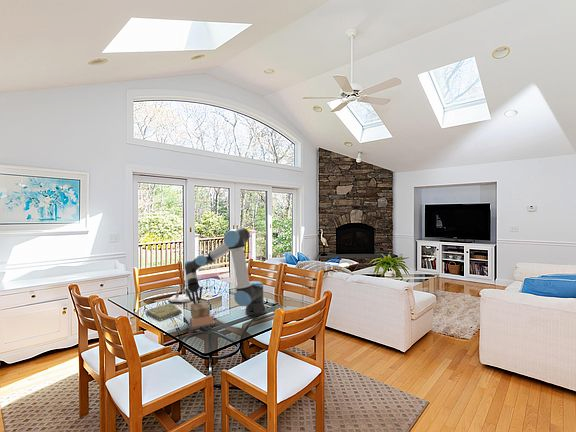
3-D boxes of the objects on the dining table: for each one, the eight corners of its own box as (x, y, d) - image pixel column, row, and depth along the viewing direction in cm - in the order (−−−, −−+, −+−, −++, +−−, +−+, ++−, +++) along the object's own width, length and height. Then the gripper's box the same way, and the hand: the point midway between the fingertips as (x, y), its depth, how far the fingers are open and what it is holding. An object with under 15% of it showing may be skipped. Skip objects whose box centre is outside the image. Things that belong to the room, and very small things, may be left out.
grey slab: (206, 313, 230) (206, 305, 229) (215, 324, 211) (214, 315, 210) (184, 317, 222) (184, 308, 222) (190, 329, 203) (190, 320, 202)
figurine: (169, 304, 246) (171, 283, 246) (167, 297, 263) (169, 278, 262) (195, 302, 255) (197, 283, 254) (192, 296, 271) (193, 277, 271)
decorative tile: (160, 321, 217) (160, 316, 217) (146, 313, 230) (146, 309, 230) (184, 313, 232) (183, 308, 232) (169, 306, 245) (169, 302, 244)
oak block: (207, 315, 222) (207, 301, 221) (212, 321, 212) (212, 307, 211) (188, 319, 216) (188, 304, 215) (192, 325, 205) (191, 310, 204)
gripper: (200, 281, 238) (206, 310, 225) (182, 283, 232) (187, 313, 219) (201, 276, 233) (207, 305, 220) (183, 278, 227) (188, 308, 214)
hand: (197, 309), depth 220 cm, fingers closed
